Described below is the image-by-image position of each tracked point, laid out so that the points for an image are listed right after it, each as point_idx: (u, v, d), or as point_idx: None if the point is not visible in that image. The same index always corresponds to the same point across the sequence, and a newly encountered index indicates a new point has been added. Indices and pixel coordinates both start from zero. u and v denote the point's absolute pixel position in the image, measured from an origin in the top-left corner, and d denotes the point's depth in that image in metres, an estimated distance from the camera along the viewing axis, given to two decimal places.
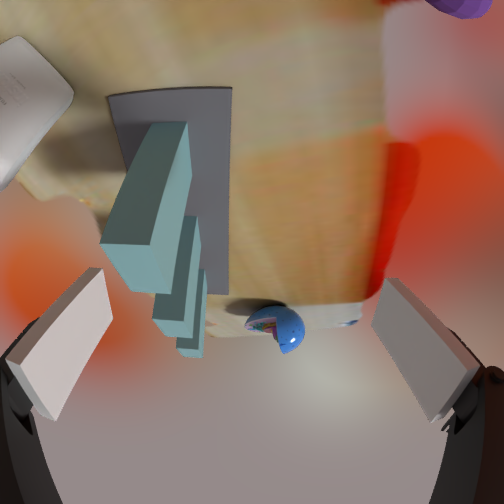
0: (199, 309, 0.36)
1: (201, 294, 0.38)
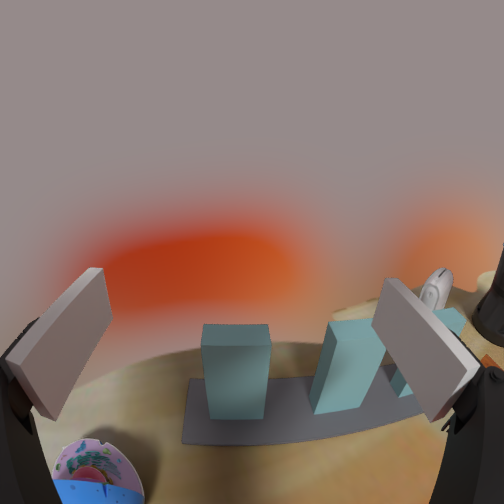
0: (266, 384, 0.25)
1: (264, 398, 0.25)
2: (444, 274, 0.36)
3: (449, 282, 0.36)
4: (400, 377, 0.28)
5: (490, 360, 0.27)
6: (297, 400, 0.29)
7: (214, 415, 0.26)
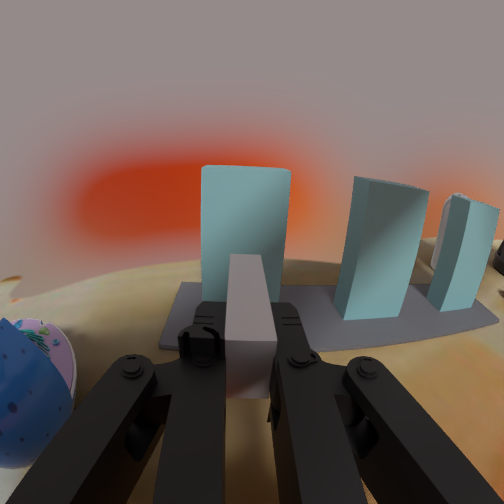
0: (283, 249, 0.20)
1: (280, 277, 0.21)
2: (463, 195, 0.31)
3: None
4: (439, 283, 0.24)
5: None
6: (319, 305, 0.25)
7: None
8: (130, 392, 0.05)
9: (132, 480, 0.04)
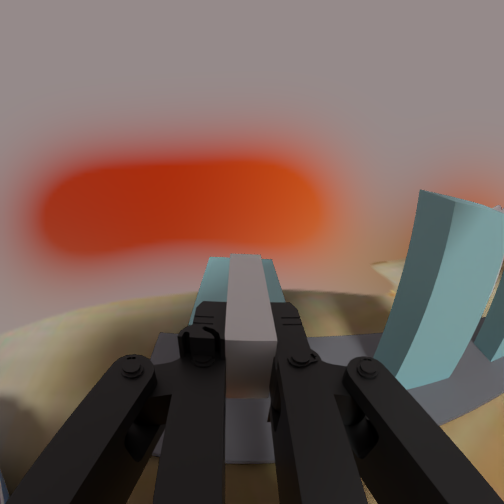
0: None
1: None
2: None
3: None
4: (493, 327, 0.15)
5: None
6: None
7: None
8: (130, 392, 0.05)
9: (132, 481, 0.04)
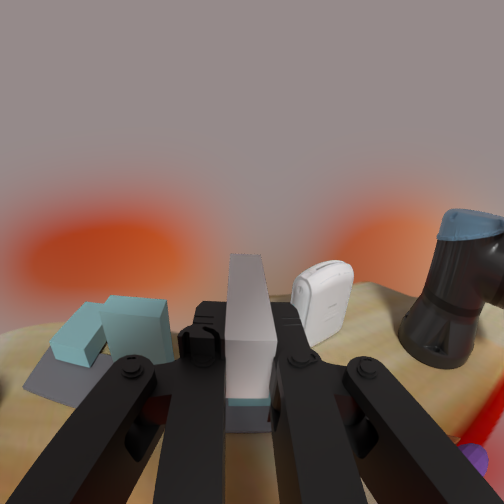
0: (102, 325, 0.33)
1: (95, 333, 0.31)
2: (327, 267, 0.35)
3: (336, 277, 0.35)
4: None
5: None
6: None
7: (54, 338, 0.27)
8: (130, 392, 0.05)
9: (132, 480, 0.04)
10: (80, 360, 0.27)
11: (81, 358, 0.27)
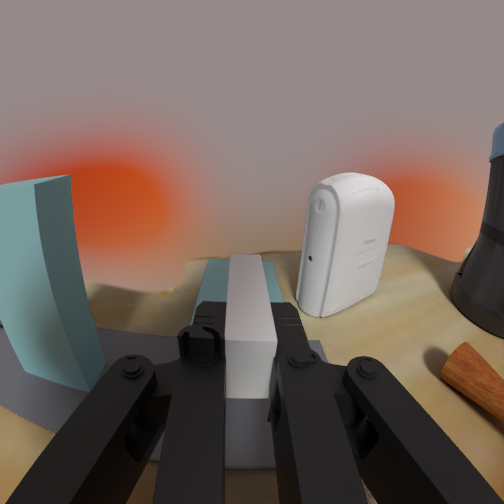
0: None
1: None
2: (359, 175, 0.21)
3: (374, 192, 0.21)
4: None
5: (474, 355, 0.13)
6: None
7: None
8: (130, 392, 0.05)
9: (132, 480, 0.04)
10: None
11: None
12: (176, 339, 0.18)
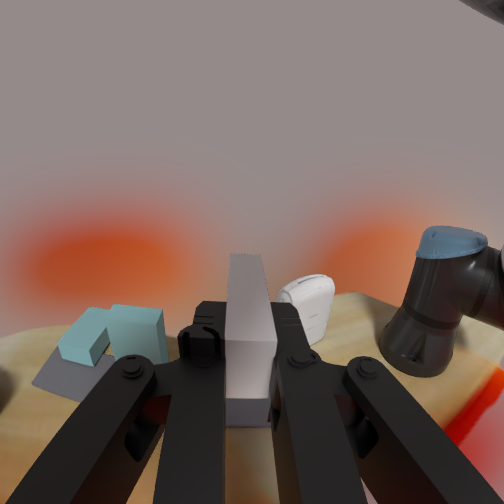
0: (105, 328, 0.37)
1: (99, 336, 0.34)
2: (308, 281, 0.39)
3: (317, 290, 0.38)
4: None
5: None
6: None
7: (62, 340, 0.31)
8: (130, 392, 0.05)
9: (132, 480, 0.04)
10: (85, 360, 0.31)
11: (86, 358, 0.31)
12: None
